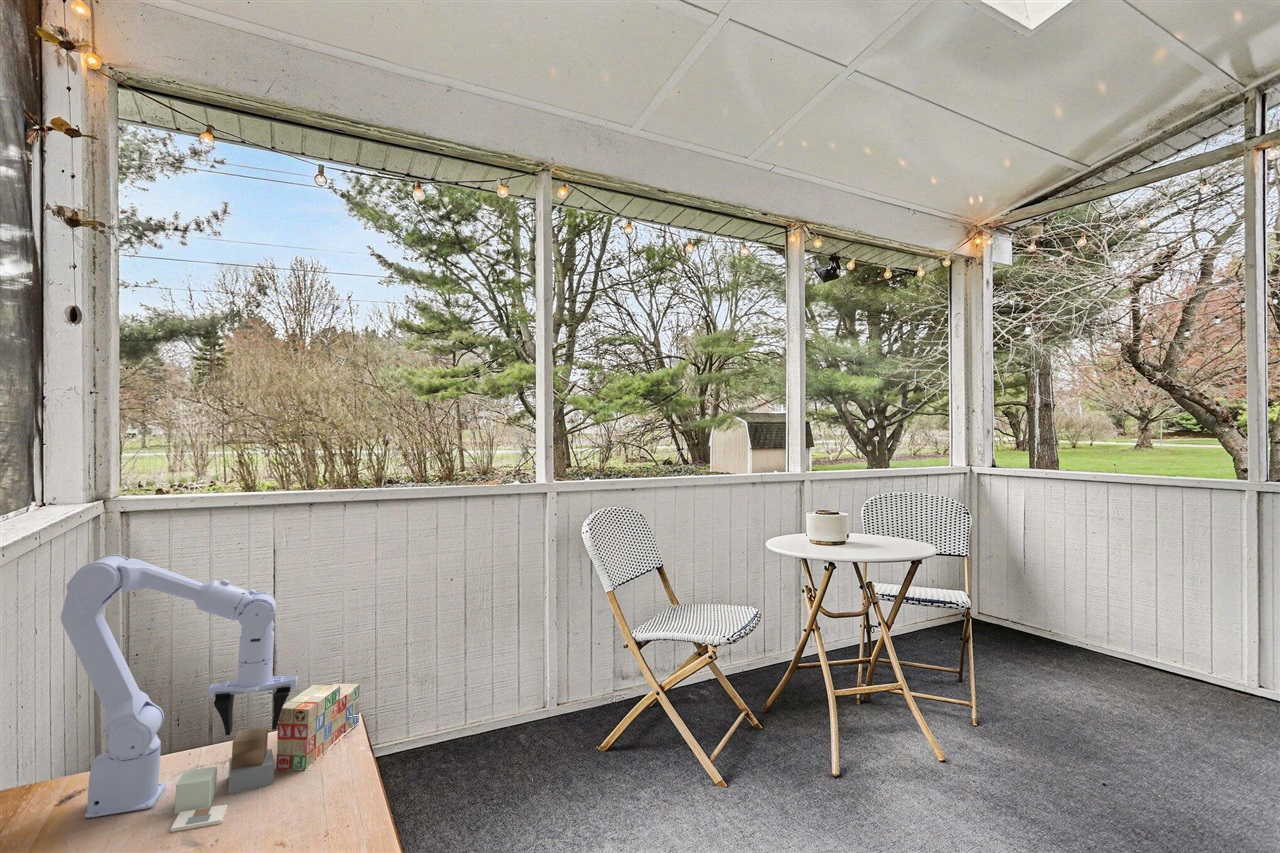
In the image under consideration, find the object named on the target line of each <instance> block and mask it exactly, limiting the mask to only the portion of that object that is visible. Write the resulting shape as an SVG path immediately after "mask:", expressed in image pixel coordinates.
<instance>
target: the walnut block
mask: <svg viewBox="0 0 1280 853" xmlns="http://www.w3.org/2000/svg"><path fill="white" fill-rule="evenodd" d="M268 736H269V727H268V726H267V727H259V728H251V729H243V730H238V731H237V733H236V735H235V737H234V739H233V741H232V747H231V750H232V753H231V757H232V766H231V770H232V769H238V768H245V767H252V766H259V765H263V762H264V759H265V757H266V754H267V750H268Z"/></svg>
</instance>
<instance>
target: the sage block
mask: <svg viewBox="0 0 1280 853" xmlns="http://www.w3.org/2000/svg"><path fill="white" fill-rule="evenodd" d="M217 777H218V766H217V765H216V766H211V767H205V768H204V767H203V768H197V769H190V770H184V772H183V773H182V775H181V776H180V778H179V779H178V780H177V783H176V784H175V795H174V796H175V797H174V798H175V799H174V815H177V814H179V813H180V812H184V811H190V810H196V809H202V808H208V807H211V805H212V802H213V800H214V799H215V796H216V794H217V780H218V779H217Z"/></svg>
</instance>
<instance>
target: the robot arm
mask: <svg viewBox="0 0 1280 853" xmlns="http://www.w3.org/2000/svg"><path fill="white" fill-rule="evenodd" d="M65 588H66V594H65V598H64V602H63V607H62V611H61V614H60V620H61V625H62V626H63V628H64V631H65V633H66V634H67V636H68V639H69V640H70V643H71V645H72V646H73V648H74V651H75V652H76V654H77V656H78V658H79V660H80V663H81V664H82V667H83V668H84V671H85V672H86V674H87V676H88V679H89V681H90V683H91V685H92V687H93V689H94V691H95V693H96V694H97V696H98V699H99V701H100V704H101V705H102V706H103V709H104V722H103V723H104V729H105V731H106V733H107V740H106V741H107V742H106V749H107V753H102V754H98V755H97V756H96V758H94V760H93V763H92V765H91V768H90V771H89V778H88V788H87V789H88V790H87V805H86V813H85V815H84V818H85V817H87V818H86V819H89V818H90V817H91V818H96V817H102V816H107V815H108V816H109V815H115V814H122V813H127V812H133V811H140V810H146V809H151V808H153V807H154V806H155V804H156V803H157V802H158V799H159V798H160V796H161V795H162V793H163V792H164V790H165V788H166V786H167V783H165V782H164V783H162V782H161V783H159V782H160V769H161V768H160V767H161V752H162V751H161V749H162V748H161V746H162V741H161V739H160V738H159V736H158V734H157V732H158V731H159V730H160V728H162V726H163V723H164V720H165V713H164V710H163V709H162V707H160V706H159V705H157V704H156V703H154V702H152V700H151V699H150V697H149V695H148V694H147V693H146V692H144V691H142V690H140V689H139V686H138V684H137V682H136V680H135V678H134V676H133V674H132V672H131V669H130V668H129V665H128V663H127V662H126V660H125V658H124V655H123V653H122V651H121V650H120V647H119V646H118V643H117V641H116V639H115V637H114V634H113V633H112V630H111V628H110V626H109V624H108V622H107V620H106V618H105V616H104V614H103V612H104V611H105V610H106V608H107V606H108V605H109V604H110V602H111V600H112V599H113V596H114V595H115V594H117V592H118V591H120V592H121V593H126V592H130V591H136V590H139V589H149V590H153V591H157V592H161V593H163V594H164V593H165V594H167V595H172V596H175V597H179V598H183V599H187V600H191V601H193V602H194V604H195V605H196V608H197V610H199V611H202V612H205V613H209V614H211V615H215V616H218V617H221V618H223V619H227V620H231V621H238V622H239V625H240V626H241V630H240V636H239V642H238V643H239V645H238V646H239V647H238V662H237V679H235V680H230V681H226V682H220V683H212V684H211V685H210V686H209V687H208V694H207V695H208V699H214V701H213V705H214V708H215V709H216V710H217V713H218V714H219V716H220V718H221V721H222V724H223V727H224V734H225V736H230V735H231V734H232V731H233V726H234V725H233V723H234V722H233V721H234V720H233V712H234V701H235V695H238V694H239V695H240V694H246V693H247V694H250V693H259V692H269V691H275V692H274V695H273V717H272V723H271V724H272V726H271V729H272V730H278V723H279V717H280V713H281V710H282V707H283V705H284V704H286V701H287V700H288V699H287V698H289V695H290V693H291V690H296V689H297V687H298V684H299V683H298V681H299V675H291V676H290V675H289V676H282V675H277V676H276V675H273V663H274V646H275V644H274V643H275V632H274V630H275V629H274V628H275V622H274V619H275V616H276V611H277V602H276V600H275V598H274V597H273V596H272V595H270V594H268V593H267V592H266V591H259V592H258V591H257V590H255V589H252V588H251V589H250V590H247V589H244V588H241V587H239V586H236V585H233V584H231V580H229V579H226V578H223V579H222V580H221V581H220V580H217V579H215V580H211V581H209V582H208V581H207V582H204V583H203V582H200V581H198V580H195V579H192V578H189V577H188V576H185V575H181V574H179V573H177V572H174V571H171V570H168V569H167V568H166V569H165V568H162V567H160V566H158V565H156V564H155V565H154V564H152V563H149V562H147V561H144V560H142V559H138V558H133V557H131V558H129V557H126V556H124V555H122V554H118V553H115V554H114V553H111V554H106V555H103V556H101V557H99V558H98V559H96V560H95V561H93V562H90V563H87V564H85V565H83V566H81V567H80V568H79V569H78V570H77V571H76V572H75V573H74V575H73V576H72V577H71V579H70V580H69V581H68V583H66V586H65ZM256 591H257V592H256Z"/></svg>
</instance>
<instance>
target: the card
mask: <svg viewBox="0 0 1280 853" xmlns="http://www.w3.org/2000/svg"><path fill="white" fill-rule="evenodd" d="M227 811H228V804H227V803H226V804H219V805H216V806H210V807H208V808H202V809H196V810H190V811H184V812H180V813H178V815H177V817H176V818H175V820H174V822H173V824H172V825H171V828H170V833H175V832H180V831H186V830H192V829H198V828H203V827H209V826H214V825H220V824H222V822H223V819H224V817H225V815H226V812H227Z"/></svg>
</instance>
